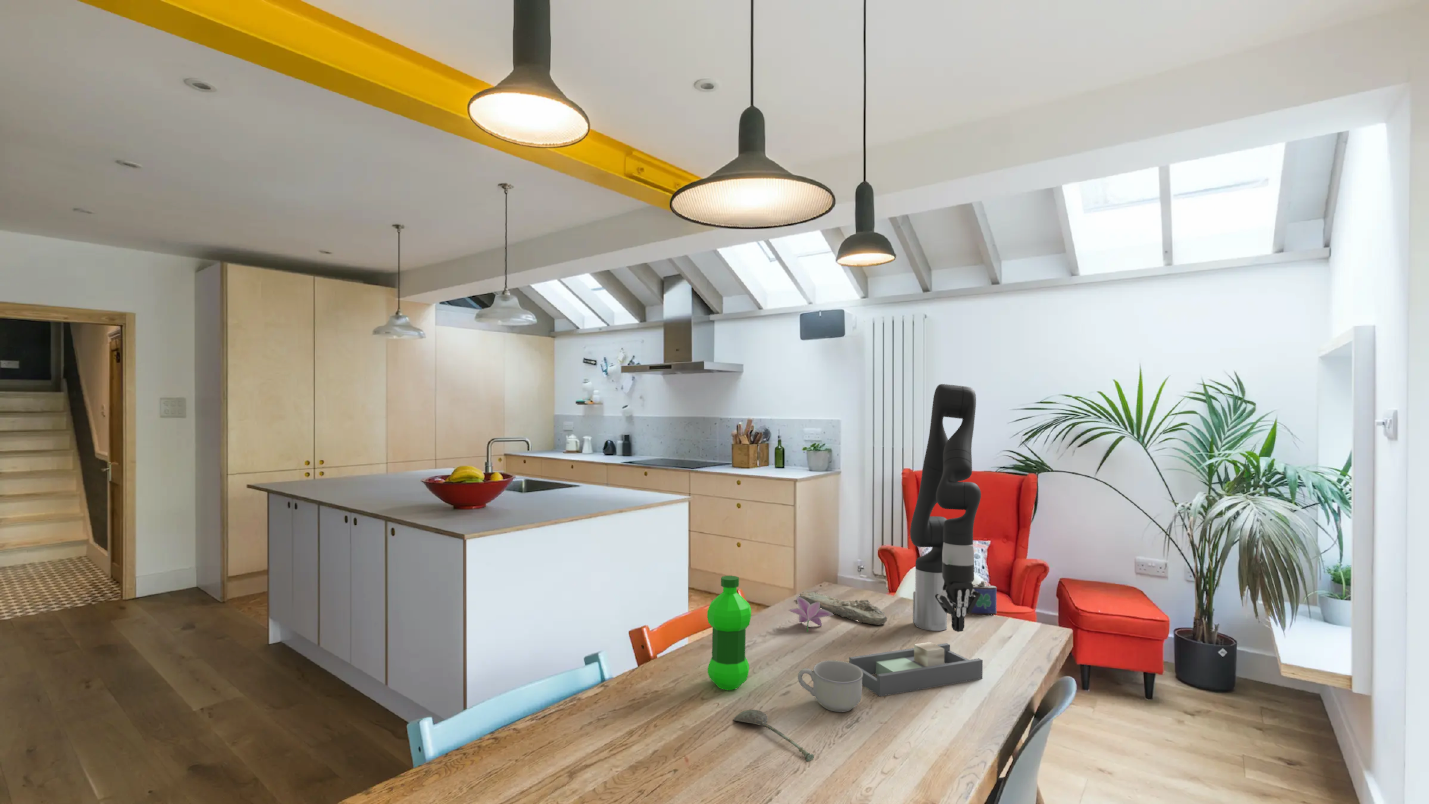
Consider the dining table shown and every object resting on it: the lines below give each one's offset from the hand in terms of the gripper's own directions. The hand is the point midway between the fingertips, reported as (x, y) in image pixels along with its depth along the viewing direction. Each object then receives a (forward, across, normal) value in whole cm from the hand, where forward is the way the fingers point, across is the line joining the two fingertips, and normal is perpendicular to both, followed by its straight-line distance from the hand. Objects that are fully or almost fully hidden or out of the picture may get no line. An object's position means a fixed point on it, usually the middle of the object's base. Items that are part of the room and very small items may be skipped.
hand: (957, 630), depth 164 cm
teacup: (+10, +41, +5) cm, 42 cm away
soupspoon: (+11, +59, +13) cm, 61 cm away
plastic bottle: (+10, +58, -12) cm, 60 cm away
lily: (+10, +18, -41) cm, 46 cm away
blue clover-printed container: (+10, -43, -35) cm, 56 cm away
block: (+7, +9, 0) cm, 11 cm away
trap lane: (+10, +13, -1) cm, 16 cm away
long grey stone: (+10, 0, -52) cm, 53 cm away
